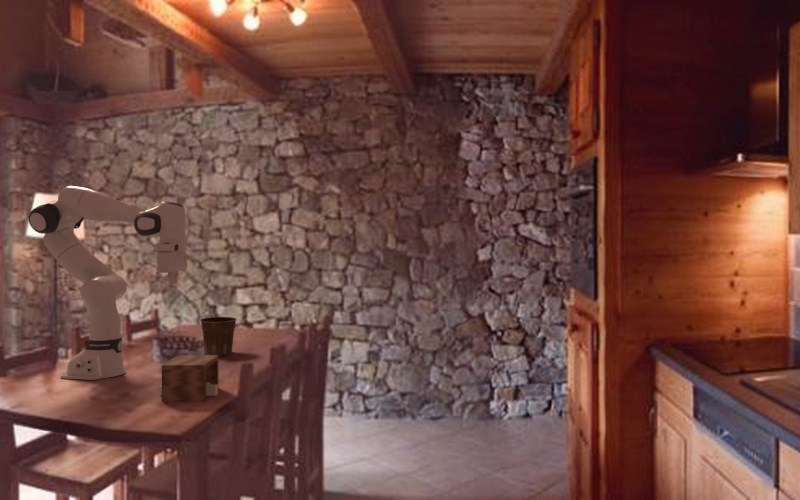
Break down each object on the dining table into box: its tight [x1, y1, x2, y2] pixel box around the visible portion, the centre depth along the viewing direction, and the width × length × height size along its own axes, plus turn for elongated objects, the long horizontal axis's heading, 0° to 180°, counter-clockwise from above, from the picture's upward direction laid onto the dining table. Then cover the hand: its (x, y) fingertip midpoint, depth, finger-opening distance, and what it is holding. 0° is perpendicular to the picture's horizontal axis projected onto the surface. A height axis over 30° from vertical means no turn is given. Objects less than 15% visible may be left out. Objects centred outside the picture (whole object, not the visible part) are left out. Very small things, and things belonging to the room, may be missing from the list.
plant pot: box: [199, 316, 238, 357], centre depth 263 cm, size 16×16×16 cm
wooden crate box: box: [161, 354, 220, 402], centre depth 196 cm, size 14×16×12 cm
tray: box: [158, 382, 219, 397], centre depth 196 cm, size 19×8×7 cm, turn 91°
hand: (173, 283), depth 208 cm, fingers closed
